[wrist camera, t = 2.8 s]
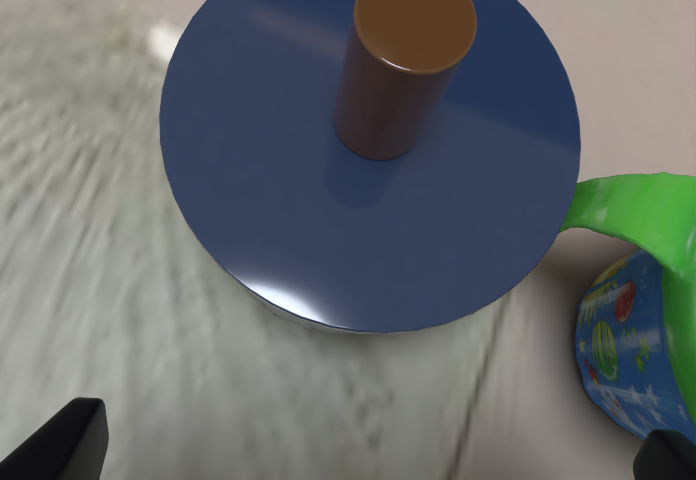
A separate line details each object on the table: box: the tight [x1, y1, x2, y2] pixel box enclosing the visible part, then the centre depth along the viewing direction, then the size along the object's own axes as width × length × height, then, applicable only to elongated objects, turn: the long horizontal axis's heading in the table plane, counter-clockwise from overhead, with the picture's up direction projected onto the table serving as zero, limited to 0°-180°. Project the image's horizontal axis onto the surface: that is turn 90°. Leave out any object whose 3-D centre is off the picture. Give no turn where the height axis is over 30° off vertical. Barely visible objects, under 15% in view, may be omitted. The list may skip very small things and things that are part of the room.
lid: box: [159, 0, 581, 334], centre depth 15 cm, size 12×12×6 cm
